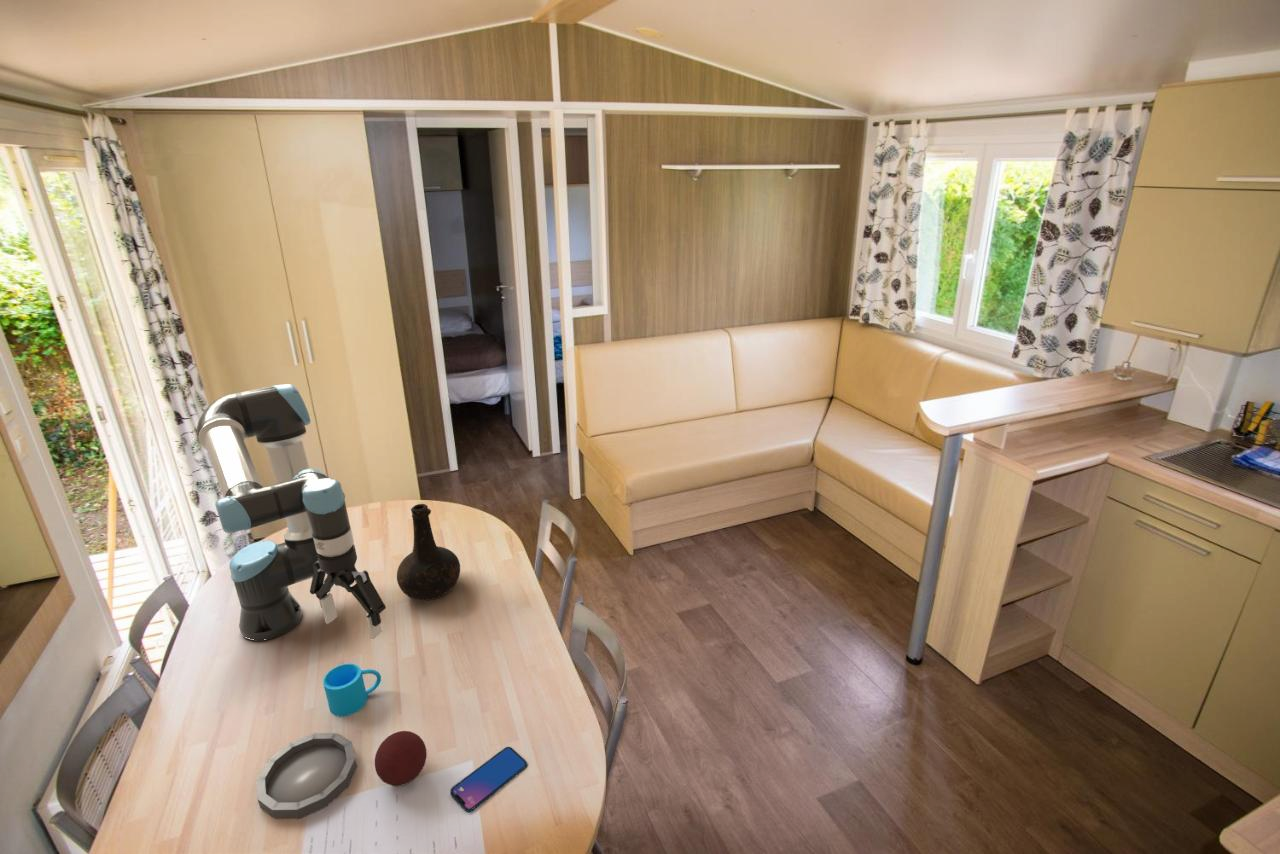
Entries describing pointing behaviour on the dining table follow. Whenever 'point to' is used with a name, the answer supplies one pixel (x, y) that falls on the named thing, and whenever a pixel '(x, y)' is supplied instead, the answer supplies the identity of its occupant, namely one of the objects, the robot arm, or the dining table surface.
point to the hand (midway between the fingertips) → (353, 627)
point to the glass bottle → (427, 562)
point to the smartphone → (488, 779)
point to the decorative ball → (400, 758)
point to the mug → (347, 688)
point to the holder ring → (306, 775)
